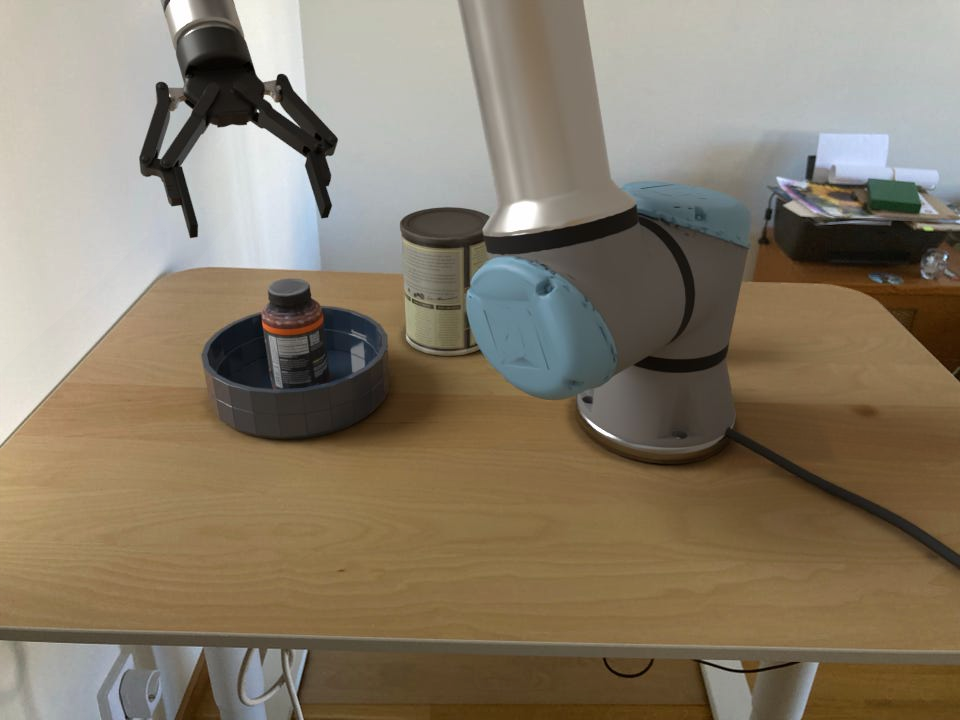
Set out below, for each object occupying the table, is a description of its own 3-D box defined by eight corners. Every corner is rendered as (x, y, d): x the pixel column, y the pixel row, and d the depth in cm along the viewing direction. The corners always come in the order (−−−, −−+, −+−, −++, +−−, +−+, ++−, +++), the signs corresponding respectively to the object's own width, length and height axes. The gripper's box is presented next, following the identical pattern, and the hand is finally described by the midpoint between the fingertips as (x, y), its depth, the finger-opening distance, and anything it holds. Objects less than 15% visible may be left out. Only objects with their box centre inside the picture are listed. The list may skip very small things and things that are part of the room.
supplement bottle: (282, 369, 83) (269, 271, 78) (336, 372, 83) (327, 274, 77) (263, 398, 78) (248, 296, 72) (321, 402, 77) (310, 299, 72)
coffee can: (412, 314, 96) (408, 204, 90) (494, 318, 96) (497, 208, 89) (397, 354, 88) (391, 236, 81) (488, 359, 87) (490, 240, 80)
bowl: (426, 383, 82) (424, 337, 79) (292, 466, 69) (285, 414, 67) (309, 333, 92) (304, 291, 89) (173, 398, 79) (163, 351, 76)
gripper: (317, 61, 92) (369, 220, 88) (88, 76, 82) (135, 257, 78) (327, 17, 85) (384, 187, 81) (79, 27, 75) (130, 222, 71)
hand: (262, 222), depth 80 cm, fingers open, 13 cm apart
